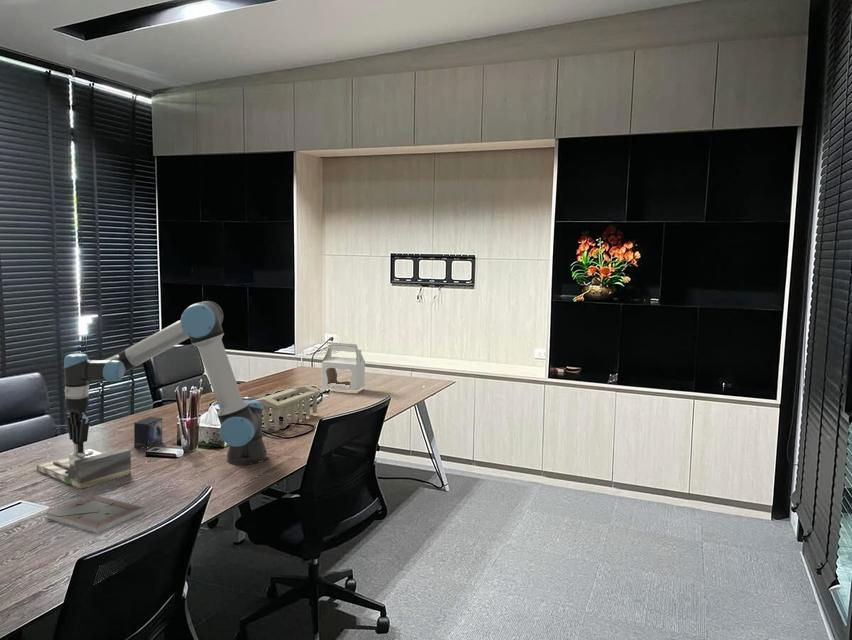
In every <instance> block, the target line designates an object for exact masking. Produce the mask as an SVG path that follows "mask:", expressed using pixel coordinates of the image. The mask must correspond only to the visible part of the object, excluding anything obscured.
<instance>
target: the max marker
mask: <svg viewBox="0 0 852 640" xmlns="http://www.w3.org/2000/svg"><path fill="white" fill-rule="evenodd" d="M68 477H71V478H73V479H75V473H74V467H70V468H68Z"/></svg>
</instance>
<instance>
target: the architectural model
mask: <svg viewBox="0 0 852 640" xmlns="http://www.w3.org/2000/svg"><path fill="white" fill-rule="evenodd" d="M321 391H322V390H321V389H318V388H315V387H313V386H311V385H309V384H306V385H300V386H294V387H291V388H288V389H285V390H282V391H279V392H275V393H272V394H269V395H266V396H261V397H259V398H256V399H253V400H251V401H259V402H261V403H262V408H263V410H262V424H263V423H264V424H265V425H264V428H265V429H270V421H271V420H274V422H273V423H274V425H273V426H274V427H273V428H274V429H273V431H274V430H280V419H279V416H281V417H283V419H282V427H283V426H284V427H285V426H288V416H287V415H288V414H291V416H290V424H291V423H295V424H296V414H295V411H298V417H297V418H298V419H299V420H301V419H303V420H304V418H303V416H304V415H303V412H306V415H305V417H306V416H310V417H311V399H312V413H317V412H318V396H319V394H320V395H321V393H322V392H321ZM299 393H300V394H299ZM285 397H286V399H285ZM278 400H279V401H278ZM270 408H271V415H270ZM317 414H318V413H317ZM270 416H271V417H270ZM270 418H271V420H270Z"/></svg>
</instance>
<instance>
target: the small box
mask: <svg viewBox="0 0 852 640" xmlns="http://www.w3.org/2000/svg"><path fill="white" fill-rule="evenodd" d="M133 424H134V425H133V426H134V427H133V430H134V431H133V433H134V434H133V437H134V438H133V440H134V441H133V444H134V445H133V447H134V448H138V447H144V448H143V449H148V448H147V447H149V448H151V447H153V446H152V445H154V444H156V443H158V444H159V442H160V443H162V442H163V417H157V416H148V417H145V418H142V419H140V420H138V421H135V422H133ZM161 441H162V442H161ZM156 445H157V444H156ZM150 446H151V447H150ZM154 446H155V445H154Z"/></svg>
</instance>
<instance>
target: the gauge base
mask: <svg viewBox="0 0 852 640" xmlns="http://www.w3.org/2000/svg"><path fill="white" fill-rule="evenodd" d="M101 453H102V452H101ZM131 456H132V455H131V449H128V448H125V447H122V448H118V449H115V450H111V451H107V452H104V453H102V454H99V455H95V456H91V457H87V458H83V459H79V460H75V461H74V473H75V479H73V478H71V477H68V473H65V471H68V468H70V466H69V456H65V457H62V458H58V459H54V460H53V459H52V460H49V461H46V462H42V463H38V464H36V471H39V472H41V473H43V474H45V475H46V476H49V477H52V478H54V479H57V480H59V481H61V482H64V483H65V484H68V485H70V486H73V487H75V486H76V488H78V489H80V488H81V489H80V490H82V488H83V489H85V487H86V488H89V487H88V486H90V487H93V486H96V485H99V484H98V483H100V484H103V483H105V481H107V482H110V481H113V480H116V479H115V478H117V479H119V478H118V477H120V478H122V477H121V476H123V477H126V476H125V475H127V474H130V475H132V461H131V460H132V458H131ZM127 476H128V475H127ZM112 479H113V480H112ZM109 480H110V481H109ZM102 482H103V483H102ZM95 484H96V485H95ZM92 485H93V486H92Z"/></svg>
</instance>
